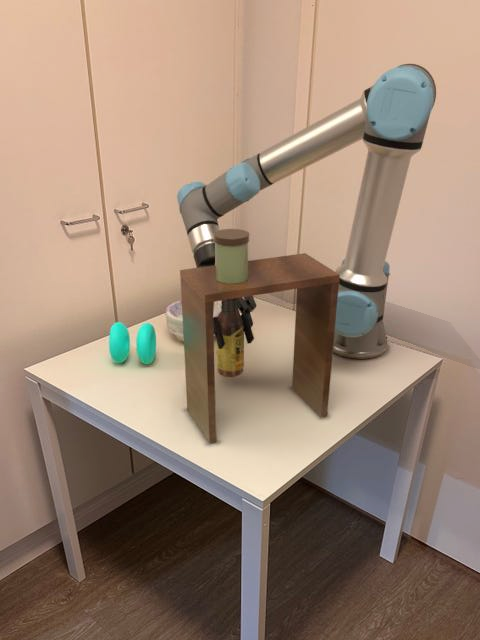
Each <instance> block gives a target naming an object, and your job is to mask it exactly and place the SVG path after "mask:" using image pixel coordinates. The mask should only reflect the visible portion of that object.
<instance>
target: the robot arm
mask: <svg viewBox="0 0 480 640" xmlns="http://www.w3.org/2000/svg"><path fill="white" fill-rule="evenodd" d="M436 99H437V85H436V82H435V80H434V78H433V75H432V74H431V72H429V70H428V69H427V68H425V67H423V66H422V65H419V64H416V63H405V64H400V65H398V66H395V67H393V68H391V69H388V70H387V71H386V72H384V73H383V74H381V75H380V76H379V77H378V79H377V80H376V81H375V83H373V85H371V86H370V87H368V88H366V89H364V90H363V91H362V93H361V96H360V98H358V99H356V100H354V101H353V102H351V103H349V104H347V105H346V106H343V107H342V108H339V109H338V110H336V111H334V112H332V113H330V114H328V115H327V116H325V117H323V118H322V119H320V120H318V121H315V122H314V123H312V124H310V125H308V126H307V127H305V128H303V129H301V130H299V131H298V132H295V133H294V134H292V135H290V136H288V137H287V138H284V139H282V140H281V141H279V142H277V143H275V144H273V145H271V146H270V147H268V148H266V149H264V150H262V151H261V152H259V153H257V154H255V155H253V156H252V157H248V158H246V159H244V160H242V161H241V162H239V163H238V164H236V165H233V166H232V167H230V168H229V169H228V170H227V171H225V172H223V173H222V174H220V175H219V176H218V177H216V178H215V179H214V180H212V181H211V182H209V183H208V184H205V183H204V182H201V181H191V182H190V183H186V184H184V185H182V186H181V187H180V188H179V190H178V191H177V195H176V199H177V203H178V210H179V214H180V215H181V218H182V221H183V224H184V229H185V231H186V234H187V239H188V242H189V245H190V249H191V252H192V254H193V260H194V263H195V268H199V267H207V266H214V265H215V242H214V233H215V232H216V231H219V230H221V229H220V225H219V220H218V219H220V218H222V217H224V216H225V215H226V214H228V213H230V212H231V211H233V210H235V209H237V208H238V207H239V206H241V205H243V204H244V203H247V202H249V201H250V200H251V199H253V198H254V197H255V196H257V195H258V194H259V193H260V191H262V190H264V189H266V188H268V187H271V186H272V185H273V184H277V183H278V182H280V181H282V180H284V179H286V178H288V177H290V176H292V175H294V174H295V173H298V172H299V171H302V170H304V169H306V168H308V167H309V166H311V165H314V164H315V163H318V162H320V161H321V160H324V159H326V158H328V157H329V156H332V155H334V154H336V153H338V152H340V151H342V150H344V149H345V148H347V147H350V146H351V145H354V144H355V143H358V142H360V141H362V142H363V143H364V145H365V146H366V148H367V155H366V158H365V164H364V169H363V173H362V178H361V182H360V188H359V192H358V196H357V203H356V207H355V211H354V216H353V221H352V224H351V230H350V235H349V240H348V244H347V248H346V253H345V258H344V259H342V261H341V265H339V266H338V267H337V268H336V269H335V272H336V273H338V274H339V275H340V277H339V288H338V299H337V310H336V322H335V333H334V344H333V354H336V355H338V356H341V357H344V358H348V359H354V360H355V359H356V360H357V359H358V360H368V359H374V358H378V357H380V356H382V355H384V354H385V352H386V351H387V347H388V336H387V334H386V329H385V325H384V314H385V307H386V299H387V292H388V285H389V278H390V277H389V276H391V272H390V263H389V262H388V261H386V259H387V255H388V251H389V248H390V247H389V246H390V243H391V239H392V235H393V230H394V227H395V224H396V219H397V214H398V210H399V206H400V203H401V198H402V194H403V191H404V188H405V182H406V179H407V175H408V172H409V171H408V170H409V166H410V163H411V159H412V157H413V156H414V155H416V154H417V153H418V152H420V151H421V150H422V147H423V144H424V139H425V136H426V132H427V128H428V123H429V119H430V116H431V113H432V111H433V108H434V106H435V103H436ZM238 307H239V312H240V315H241V318H242V320H243V323H244V338H245V340H246V344H249V345H250V344H252V342H254V340H255V337H254V333H253V329H252V327H253V326H254V321H253V317H252V314H251V313H252V312H254V311H255V309H256V307H257V303H256V300H255V297H254V295H253V296H247V297H240V298H238ZM213 311H214V302H213ZM213 324H214V334H215V336H214V338H215V341H216V345H217V344H218V348H219V349H222V348H223V347H224V345H225V342H224V338H223V335H222V331H221V328H220V325H219V321H218V318H217V317H214V318H213Z"/></svg>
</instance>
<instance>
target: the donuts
mask: <svg viewBox="0 0 480 640" xmlns="http://www.w3.org/2000/svg"><path fill="white" fill-rule="evenodd" d="M155 329H156V328H155V326H154V325H153V324H152V323H150V322H144V323H142V324H141V325H140V326H139V328H138V330H137V334H136V343H135V344H136V353H137V356H138V359H139V360H140V362H142V364H145V365H150V364H152V363H153V361H154V360H155V357H156V351H157V335H156V330H155ZM129 332H130V331H129V329H128V327H127V326H126V324H125V323H124V322H121V321H116V322H114V323H113V324H112V326H111V328H110V331H109V336H108V349H109V355H110V358H111V360H112V361H113V362H114V363H115V364H122V363H123V362H125V361H126V360H127V358H128V356H129V354H130V347H131V339H130V333H129Z"/></svg>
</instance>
